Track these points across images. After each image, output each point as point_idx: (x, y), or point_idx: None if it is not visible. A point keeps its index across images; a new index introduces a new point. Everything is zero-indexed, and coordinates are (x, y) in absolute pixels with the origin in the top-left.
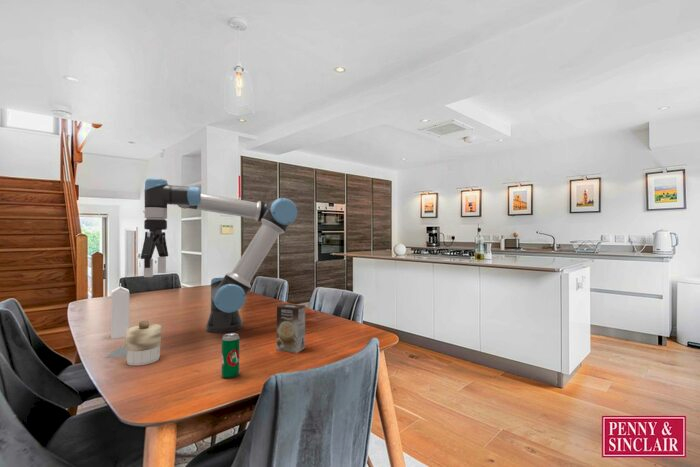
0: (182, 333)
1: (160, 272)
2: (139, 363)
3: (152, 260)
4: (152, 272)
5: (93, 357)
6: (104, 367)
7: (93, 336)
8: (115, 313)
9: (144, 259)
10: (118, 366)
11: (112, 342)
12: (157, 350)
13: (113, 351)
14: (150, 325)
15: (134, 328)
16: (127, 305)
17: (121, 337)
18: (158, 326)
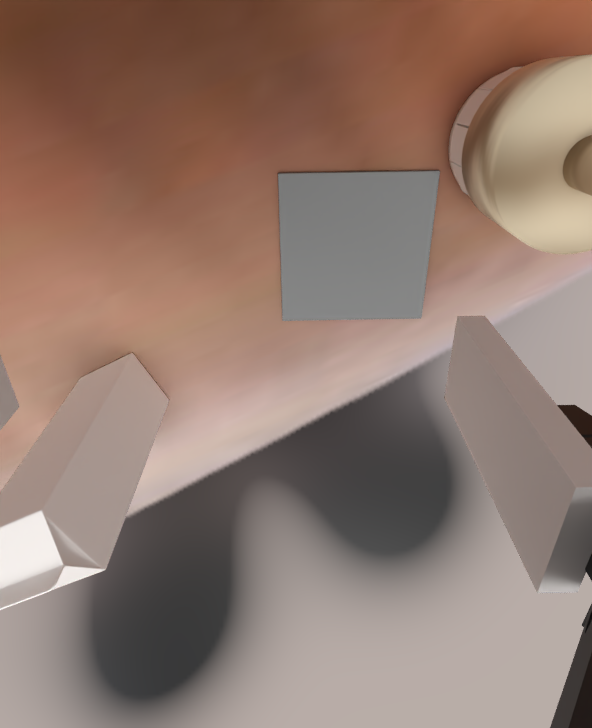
0: (50, 103)
1: (4, 382)
2: None
3: (582, 462)
4: (489, 342)
5: (390, 359)
6: (525, 270)
7: None
8: (131, 464)
9: (573, 578)
10: None
11: (206, 380)
12: None
13: (349, 319)
14: (534, 146)
15: (575, 216)
16: (85, 451)
17: (148, 374)
18: (588, 76)
